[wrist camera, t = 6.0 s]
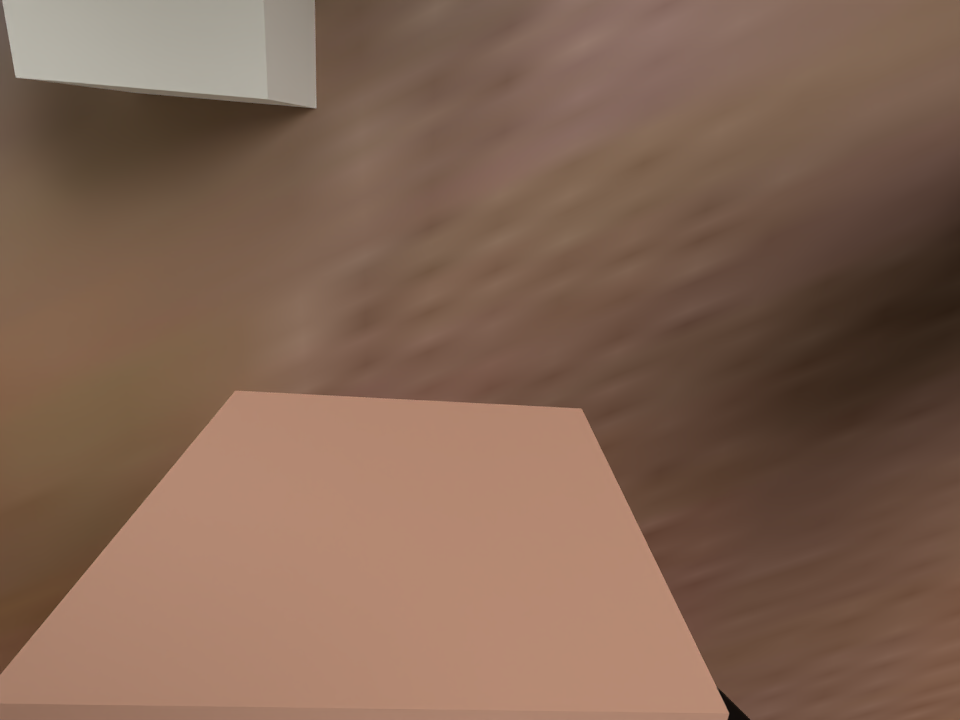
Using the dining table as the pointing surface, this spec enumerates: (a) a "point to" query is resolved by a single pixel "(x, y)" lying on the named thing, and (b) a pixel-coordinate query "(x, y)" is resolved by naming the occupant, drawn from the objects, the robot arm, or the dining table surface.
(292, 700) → the terracotta block
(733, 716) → the robot arm
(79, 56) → the offwhite block
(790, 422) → the dining table surface
